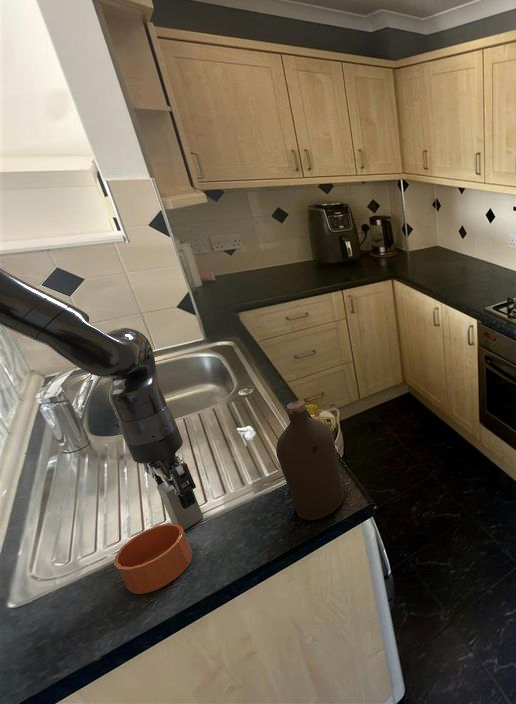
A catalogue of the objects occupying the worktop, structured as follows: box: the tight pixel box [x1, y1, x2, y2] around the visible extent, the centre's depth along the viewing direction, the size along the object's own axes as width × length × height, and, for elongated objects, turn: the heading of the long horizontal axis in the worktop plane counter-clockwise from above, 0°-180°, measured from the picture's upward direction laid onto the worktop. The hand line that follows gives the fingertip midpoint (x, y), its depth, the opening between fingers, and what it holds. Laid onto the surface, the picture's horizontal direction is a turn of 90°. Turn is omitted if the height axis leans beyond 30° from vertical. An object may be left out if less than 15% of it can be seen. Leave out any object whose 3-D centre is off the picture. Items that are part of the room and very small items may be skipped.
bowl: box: [113, 522, 193, 595], centre depth 73 cm, size 9×9×6 cm
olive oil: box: [275, 399, 345, 521], centre depth 84 cm, size 11×11×25 cm
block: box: [156, 477, 204, 531], centre depth 83 cm, size 4×4×10 cm
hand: (178, 498), depth 82 cm, fingers open, 8 cm apart
